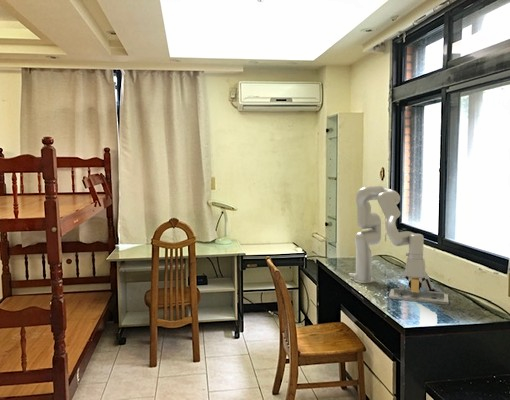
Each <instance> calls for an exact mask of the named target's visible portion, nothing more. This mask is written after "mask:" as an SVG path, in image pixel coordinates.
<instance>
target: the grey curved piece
mask: <svg viewBox="0 0 510 400" xmlns="http://www.w3.org/2000/svg"><path fill="white" fill-rule="evenodd" d="M419 281H420V279H419ZM422 288H423V289H424V290H425V291H430V290H434V292H437V291H436V287H435V286H433V284H432V281H431V280H430V277H429V278H427V279H425V280H424V281H423V282H422Z"/></svg>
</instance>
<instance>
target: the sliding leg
mask: <svg viewBox="0 0 510 400" xmlns="http://www.w3.org/2000/svg"><path fill="white" fill-rule="evenodd" d="M411 292H414V296H415V294H416V293H419V278H418V277H411Z"/></svg>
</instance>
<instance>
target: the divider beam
mask: <svg viewBox="0 0 510 400" xmlns="http://www.w3.org/2000/svg"><path fill="white" fill-rule="evenodd" d="M393 289H394V292H397V293H399V294H400V295H403V294H404V293H407V294H414V292H411V289H410V288H409V289H408V288H405V285H403V286H402V285H399V287H394V288H393ZM416 294H417V295H427V296H437V297H444V294H445V292H441V291H432V290H431V291H430V290H429V291H427V290H421V289H420V290H419V293H416Z"/></svg>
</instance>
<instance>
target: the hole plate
mask: <svg viewBox="0 0 510 400" xmlns="http://www.w3.org/2000/svg"><path fill="white" fill-rule="evenodd" d="M388 299H392V300H400V301H410V302H411V301H412V302H419V303H429V304H438V305H448V306H449V304H450V303H449V295H448V293H444V297H437V296H427V295H417V294H415V296H414V294H407V293H404V294H403V295H400V294H399V293H397V292H394V288H391V289H390V292H389V295H388Z"/></svg>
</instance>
